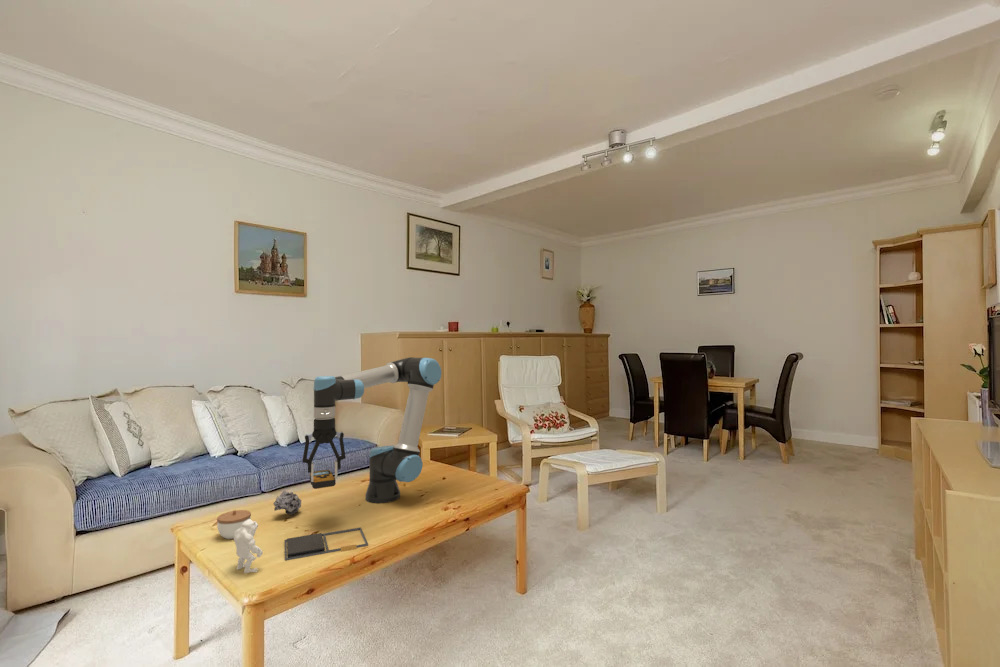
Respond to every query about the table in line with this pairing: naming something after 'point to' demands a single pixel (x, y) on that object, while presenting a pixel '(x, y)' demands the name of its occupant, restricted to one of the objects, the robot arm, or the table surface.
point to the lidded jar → (231, 522)
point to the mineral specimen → (288, 502)
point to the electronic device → (322, 479)
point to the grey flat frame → (315, 545)
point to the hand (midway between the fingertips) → (324, 479)
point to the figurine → (246, 545)
